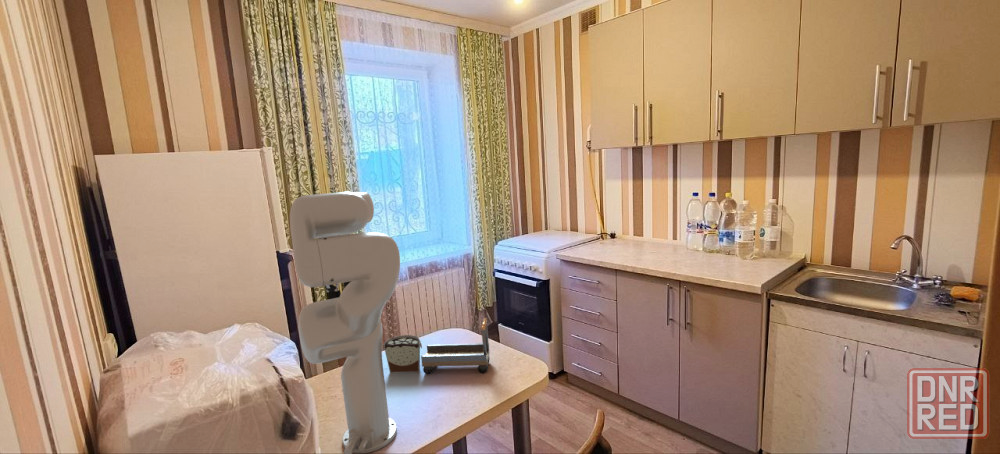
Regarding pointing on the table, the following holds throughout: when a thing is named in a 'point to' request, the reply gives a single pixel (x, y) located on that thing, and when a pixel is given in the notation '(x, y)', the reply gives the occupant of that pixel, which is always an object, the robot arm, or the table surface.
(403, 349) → the food container
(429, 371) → the trolley
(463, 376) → the table surface
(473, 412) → the table surface
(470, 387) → the table surface
